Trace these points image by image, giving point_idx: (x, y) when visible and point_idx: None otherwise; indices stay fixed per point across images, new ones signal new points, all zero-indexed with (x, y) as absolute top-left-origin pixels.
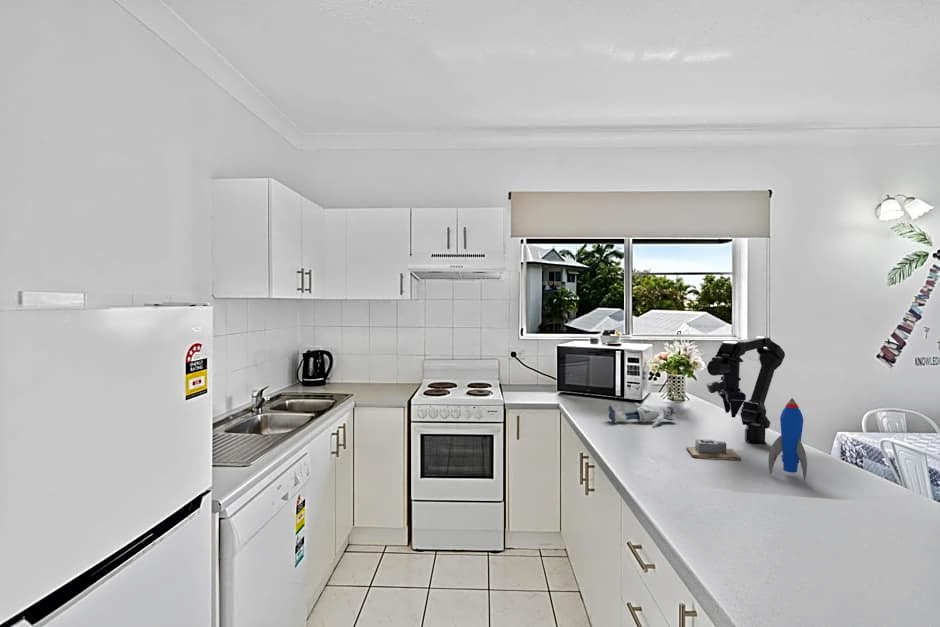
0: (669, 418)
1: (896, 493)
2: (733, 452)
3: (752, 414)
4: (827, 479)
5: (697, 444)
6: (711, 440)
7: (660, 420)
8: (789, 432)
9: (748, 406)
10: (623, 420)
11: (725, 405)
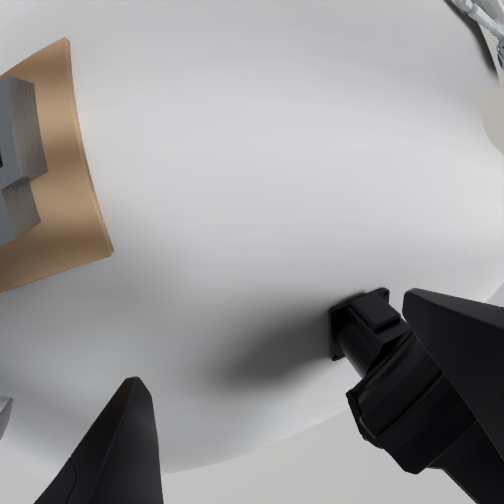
0: (499, 53)
1: (43, 471)
2: (45, 264)
3: (389, 416)
4: (24, 432)
5: None
6: (5, 163)
7: (471, 11)
8: None
9: (445, 418)
10: None
11: (466, 326)
